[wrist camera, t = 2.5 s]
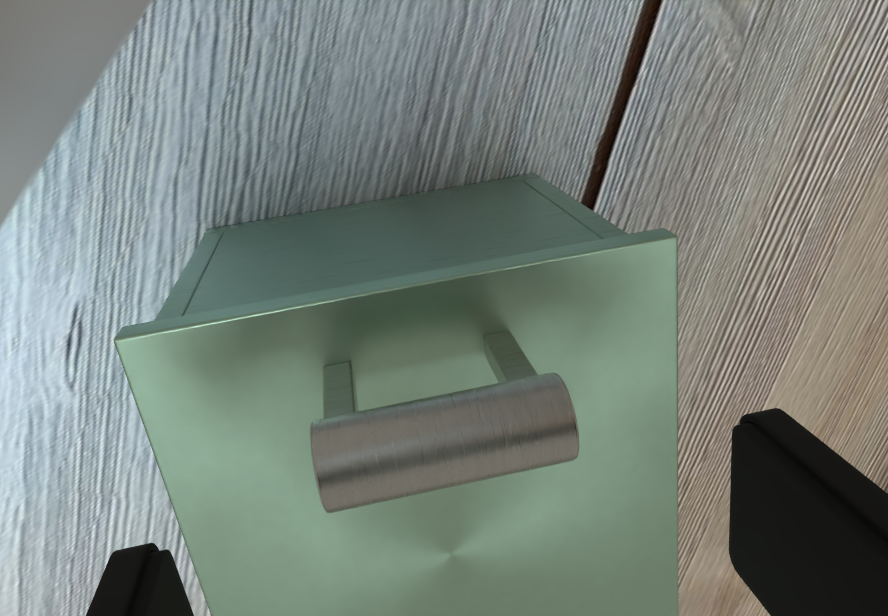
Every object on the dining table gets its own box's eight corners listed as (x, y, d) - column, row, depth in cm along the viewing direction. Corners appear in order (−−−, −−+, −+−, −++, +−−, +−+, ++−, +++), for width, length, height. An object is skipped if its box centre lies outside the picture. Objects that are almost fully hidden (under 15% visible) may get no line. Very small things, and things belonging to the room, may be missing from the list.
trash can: (206, 229, 28) (132, 354, 17) (535, 172, 29) (663, 255, 18) (291, 536, 34) (277, 775, 23) (560, 477, 35) (667, 676, 24)
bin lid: (121, 326, 16) (34, 452, 11) (664, 226, 18) (797, 301, 13) (277, 776, 23) (265, 983, 18) (668, 677, 24) (758, 844, 19)
